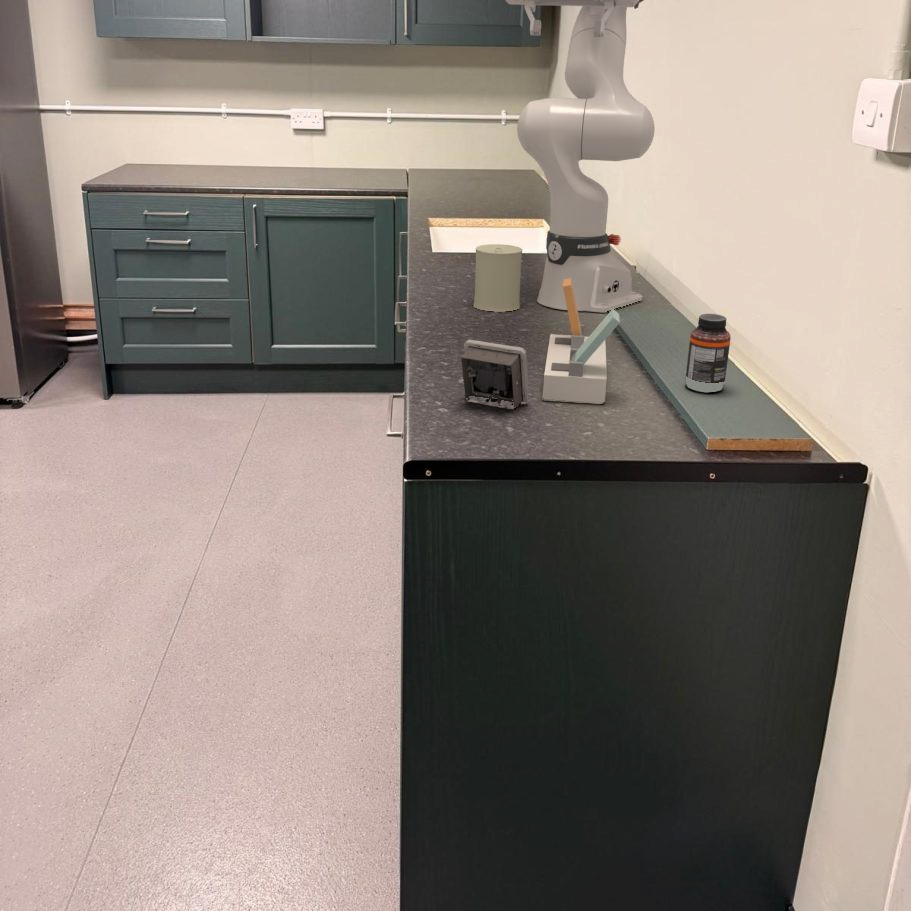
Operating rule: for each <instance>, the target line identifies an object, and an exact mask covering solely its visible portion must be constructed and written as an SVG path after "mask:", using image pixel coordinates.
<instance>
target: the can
mask: <svg viewBox="0 0 911 911" xmlns="http://www.w3.org/2000/svg"><path fill="white" fill-rule="evenodd" d="M522 256H523V248H522V247H519V246H516V245H510V244H500V243H499V244H497V243H496V244H495V243H494V244H490V243H489V244H483V245H482V244H481V245H478V246H476V248H475V276H474V277H475V279H474V280H475V281H474V299H473V300H474V301H473V308H475V309H476V308H477V310H478V309H480V310H479V311H481V310H485V311H484V312H486V311H494V312H493V313H497V312H502V313H506V312H505V311H512V312H514V311H513V310H516V311H518V310H519V309H520V308H521V305H520V293H521V292H520V291H521V273H522V272H521V271H522ZM517 309H518V310H517Z"/></svg>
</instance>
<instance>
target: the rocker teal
mask: <svg viewBox="0 0 911 911" xmlns="http://www.w3.org/2000/svg"><path fill="white" fill-rule="evenodd" d="M620 323H621V320H620V313H618V312H617V311H616V309H615V310H614V309H612V310H611V311H609V313H607V315H606V316H605V317H604V318H603V320H601V322H600V323H599V324H598V325H597V326H596V328H594V330H593V331H592V333H591V334H590V335H589V336H588V338H587V340H586V341H585V342H584V343H583V344H582V346H581V347H580V348H579V349H578V350H577V351H576V353H574V354H573V355H572V361H575V362H583V365H584V364H585V363H586V361H587V360H588V359H589V358H590V357H591V356H592V354H593V353H594V352H595V351H596V350H597V349H598V347H599V346H600V345H601V344H602V343H603V342H604V340H605V341H606V339H607V338H608V337H609V336H610V335H611V333H612V332H613V331H615V329H616V328H617V327H618V325H620Z"/></svg>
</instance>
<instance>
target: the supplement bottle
mask: <svg viewBox="0 0 911 911" xmlns="http://www.w3.org/2000/svg"><path fill="white" fill-rule="evenodd" d="M697 323H698V325H697V327H695V328H694V329H692V330H691V332H690V335H689V336H690V337H689V346H688V353H687V354H688V355H687V362H686V369H685V370H686V372H685V377H686V376H687V377H688V378H690V379H692V380H695V381H699V382H705V383H719V382H724V381H725V382H726V375H727V368H728V361H729V353H730V352H729V351H730V346H731V340H732V339H731V334H730V332H729V331H728V330H727V328H726V327H727V317H726V316H724V315H721V314H716V313H703V314H700V315H699V316H698V321H697Z"/></svg>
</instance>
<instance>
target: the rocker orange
mask: <svg viewBox="0 0 911 911" xmlns="http://www.w3.org/2000/svg"><path fill="white" fill-rule="evenodd" d="M563 290H564V295H565V300H566V305H567V310H566V311H567V314H568V319H569V324H570V329H571V335H579V336H582V330H581V326H580V325H581V322H580V321H581V320H580V316H579V311H578V310H577V305H576V300H575V295H574V290H573V285H572V280H571V278H569V279H564V282H563Z"/></svg>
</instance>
